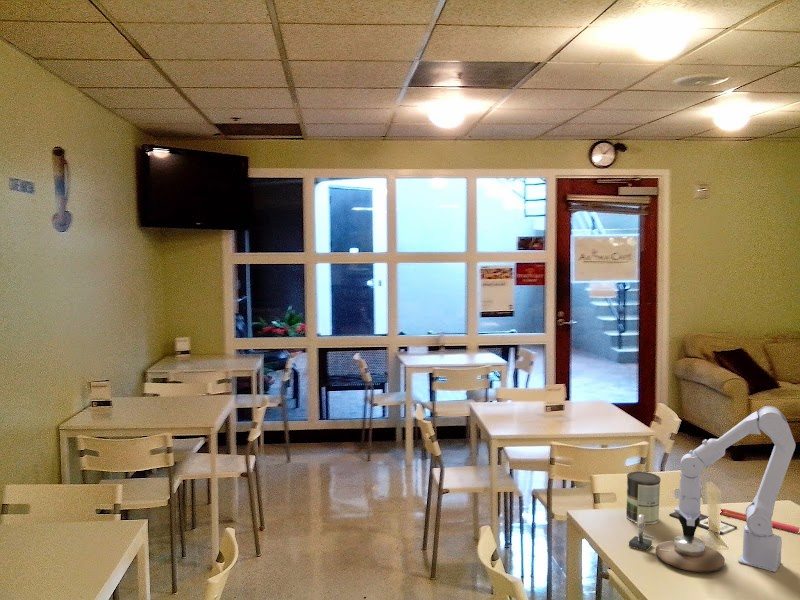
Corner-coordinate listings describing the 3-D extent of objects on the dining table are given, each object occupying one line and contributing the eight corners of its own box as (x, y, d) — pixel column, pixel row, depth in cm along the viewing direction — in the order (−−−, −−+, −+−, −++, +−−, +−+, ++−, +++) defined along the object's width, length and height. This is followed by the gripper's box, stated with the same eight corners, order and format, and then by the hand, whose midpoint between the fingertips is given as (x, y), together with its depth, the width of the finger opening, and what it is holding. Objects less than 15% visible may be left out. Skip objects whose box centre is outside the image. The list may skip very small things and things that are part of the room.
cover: (707, 550, 194) (708, 540, 194) (699, 560, 188) (699, 549, 188) (679, 542, 199) (679, 532, 199) (670, 552, 193) (670, 541, 193)
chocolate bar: (685, 508, 229) (737, 526, 214) (685, 511, 229) (736, 529, 214) (669, 514, 224) (720, 533, 209) (669, 516, 224) (720, 536, 209)
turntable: (731, 555, 193) (732, 551, 193) (714, 578, 180) (714, 575, 179) (667, 537, 205) (667, 534, 205) (646, 558, 191) (646, 555, 191)
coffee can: (621, 519, 221) (622, 477, 220) (632, 510, 229) (633, 469, 228) (652, 527, 214) (654, 484, 213) (663, 517, 222) (665, 475, 221)
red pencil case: (720, 514, 229) (716, 513, 225) (721, 507, 229) (717, 507, 225) (801, 534, 212) (797, 534, 209) (801, 527, 213) (798, 527, 209)
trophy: (656, 546, 201) (657, 515, 200) (650, 552, 197) (652, 520, 196) (635, 540, 205) (636, 510, 204) (628, 546, 201) (629, 515, 200)
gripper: (674, 485, 206) (672, 529, 207) (676, 502, 192) (674, 548, 193) (699, 488, 203) (697, 532, 204) (703, 505, 190) (701, 552, 191)
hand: (688, 540), depth 199 cm, fingers closed
